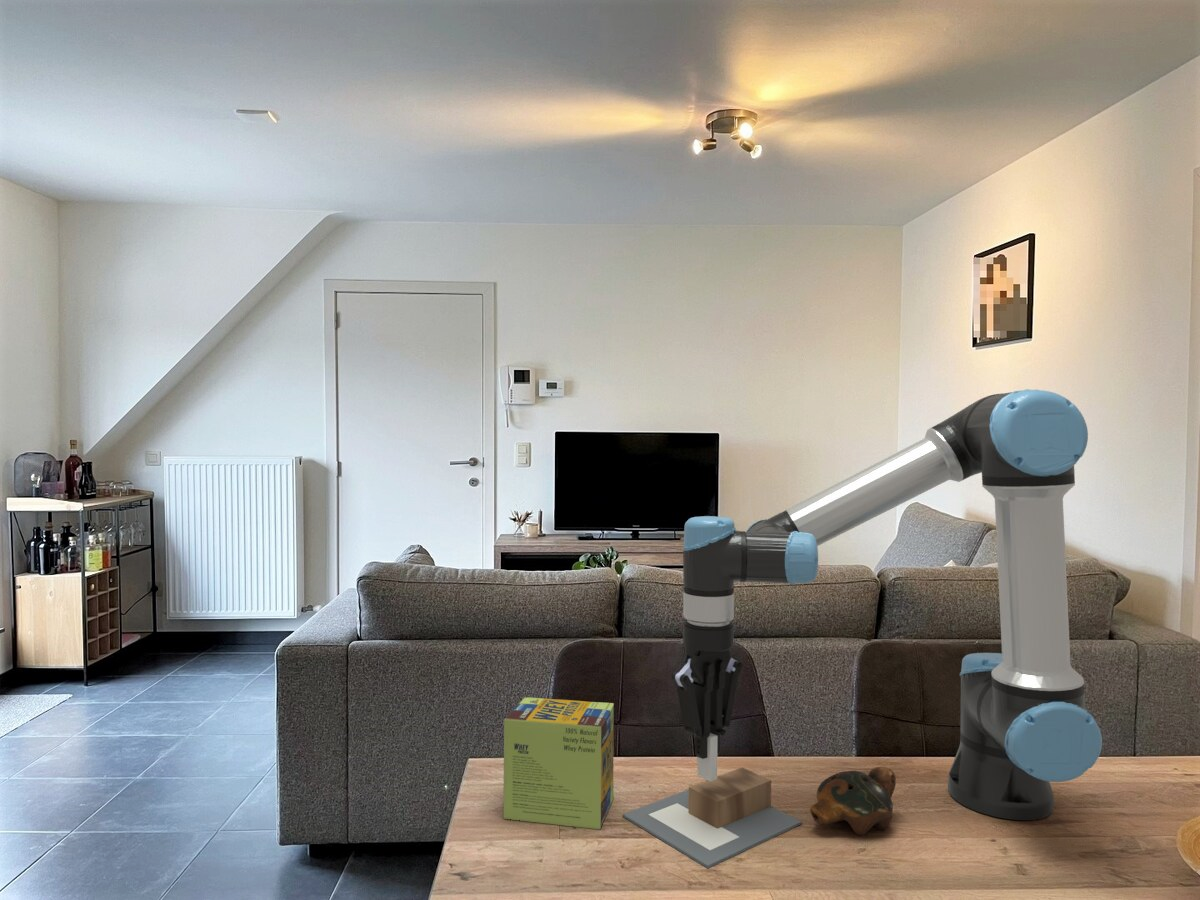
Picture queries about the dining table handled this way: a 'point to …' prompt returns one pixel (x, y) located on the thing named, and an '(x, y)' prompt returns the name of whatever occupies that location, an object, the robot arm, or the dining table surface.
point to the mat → (708, 829)
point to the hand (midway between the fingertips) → (707, 776)
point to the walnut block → (729, 797)
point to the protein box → (559, 762)
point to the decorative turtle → (856, 799)
